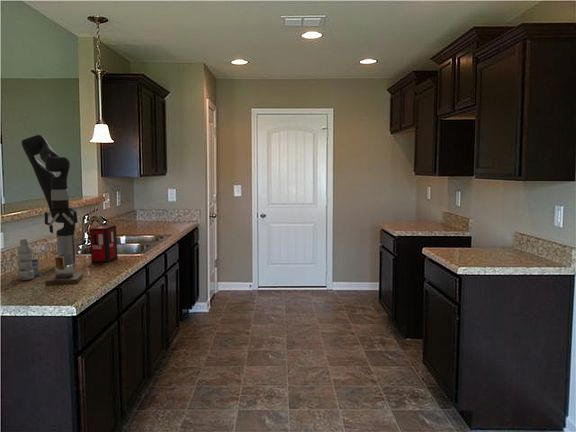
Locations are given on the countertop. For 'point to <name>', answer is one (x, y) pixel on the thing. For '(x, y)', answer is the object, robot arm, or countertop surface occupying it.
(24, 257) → the plastic bottle
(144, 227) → the countertop surface
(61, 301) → the countertop surface
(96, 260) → the cleaning product box
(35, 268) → the medicine box
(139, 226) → the countertop surface
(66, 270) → the grey piece
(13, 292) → the countertop surface
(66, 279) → the coupling base
